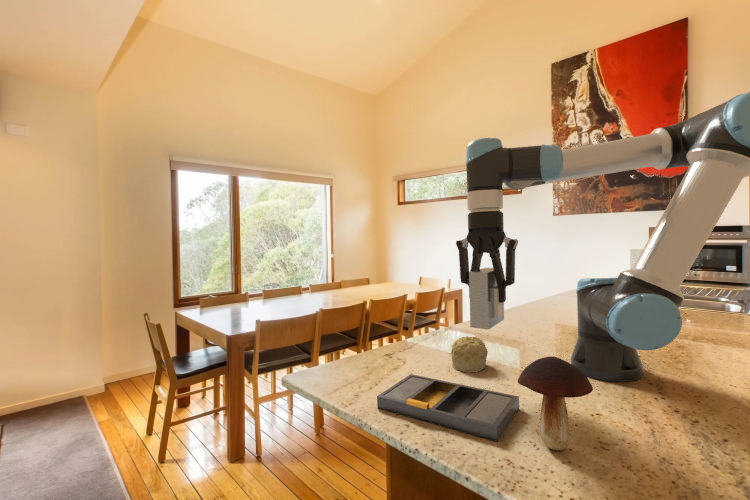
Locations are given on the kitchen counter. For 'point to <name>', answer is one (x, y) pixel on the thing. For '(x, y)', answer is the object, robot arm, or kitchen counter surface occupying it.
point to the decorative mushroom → (555, 395)
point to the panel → (483, 299)
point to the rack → (451, 405)
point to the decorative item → (469, 354)
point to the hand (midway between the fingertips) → (487, 315)
